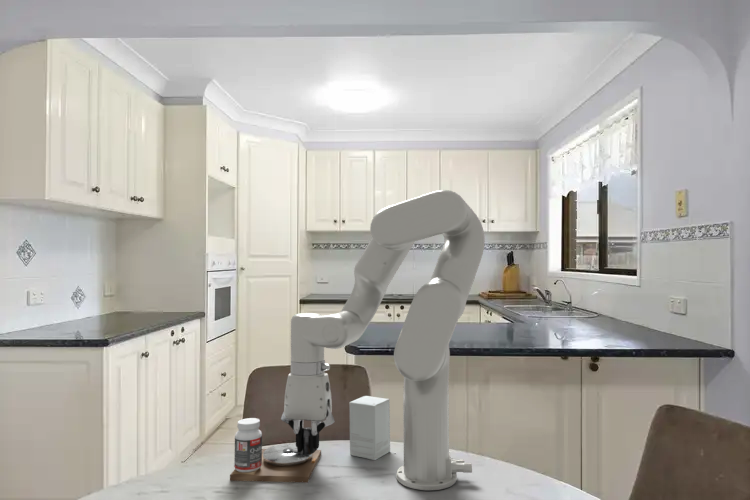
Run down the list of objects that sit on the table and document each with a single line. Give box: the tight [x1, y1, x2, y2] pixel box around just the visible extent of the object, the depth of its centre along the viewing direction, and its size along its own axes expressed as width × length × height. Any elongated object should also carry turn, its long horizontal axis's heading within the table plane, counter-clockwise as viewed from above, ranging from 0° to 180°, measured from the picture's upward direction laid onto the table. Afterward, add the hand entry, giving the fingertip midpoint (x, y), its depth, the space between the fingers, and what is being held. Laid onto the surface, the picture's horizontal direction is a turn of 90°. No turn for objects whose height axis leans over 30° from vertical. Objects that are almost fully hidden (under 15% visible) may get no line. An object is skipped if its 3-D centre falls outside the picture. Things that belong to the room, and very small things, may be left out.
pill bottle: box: [233, 417, 263, 472], centre depth 108 cm, size 6×6×10 cm
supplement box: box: [348, 395, 391, 461], centre depth 121 cm, size 7×7×13 cm
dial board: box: [229, 448, 322, 484], centre depth 112 cm, size 16×16×2 cm
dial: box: [263, 426, 313, 466], centre depth 114 cm, size 11×11×6 cm
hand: (307, 450), depth 113 cm, fingers closed on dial, 2 cm apart
